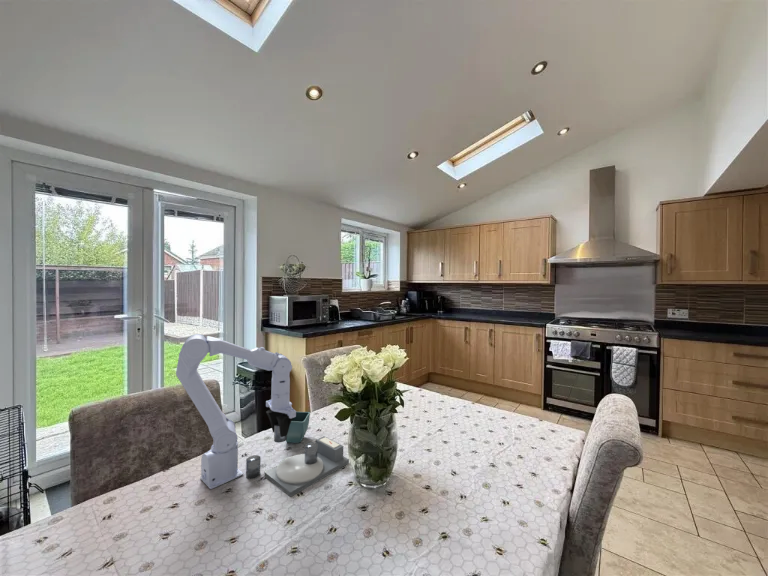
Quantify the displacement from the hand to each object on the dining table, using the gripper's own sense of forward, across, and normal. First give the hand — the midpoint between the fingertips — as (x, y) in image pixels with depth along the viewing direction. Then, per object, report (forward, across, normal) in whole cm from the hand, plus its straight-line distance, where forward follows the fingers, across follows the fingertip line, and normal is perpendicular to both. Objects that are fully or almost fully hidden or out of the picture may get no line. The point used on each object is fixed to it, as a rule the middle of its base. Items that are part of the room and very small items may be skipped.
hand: (280, 433), depth 103 cm
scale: (+9, -10, -4) cm, 14 cm away
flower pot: (+10, +8, -12) cm, 18 cm away
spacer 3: (+7, -10, -5) cm, 13 cm away
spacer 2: (+2, 0, 0) cm, 2 cm away
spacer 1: (+9, 0, +9) cm, 13 cm away
